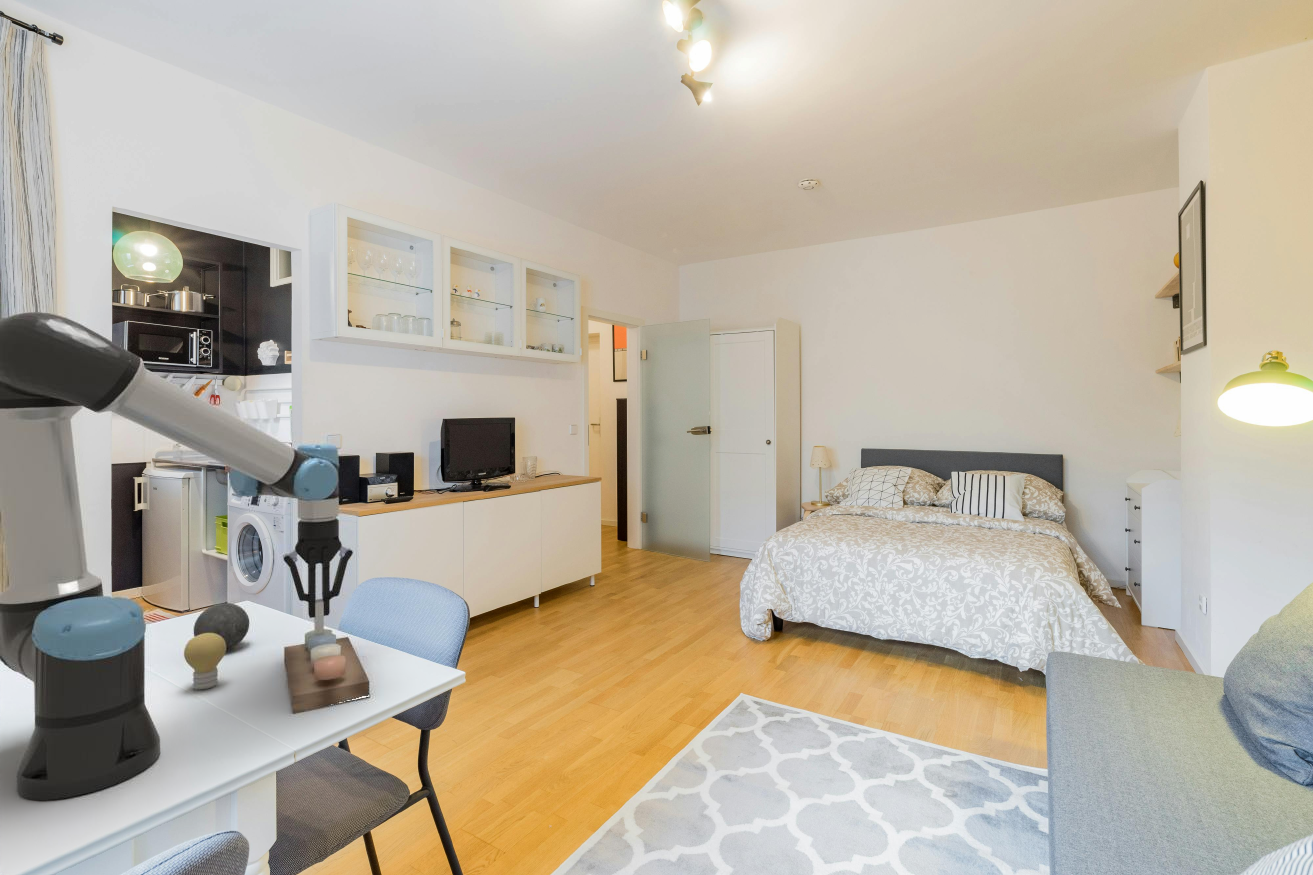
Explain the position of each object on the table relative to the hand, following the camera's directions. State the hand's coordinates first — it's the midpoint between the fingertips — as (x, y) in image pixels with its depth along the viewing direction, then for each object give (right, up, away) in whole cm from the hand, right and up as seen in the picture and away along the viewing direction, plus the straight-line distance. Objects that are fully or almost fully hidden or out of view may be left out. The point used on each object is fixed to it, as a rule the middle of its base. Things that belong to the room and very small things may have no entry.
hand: (319, 631), depth 131 cm
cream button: (+8, -2, -12) cm, 14 cm away
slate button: (+4, -2, -6) cm, 7 cm away
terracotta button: (+11, -2, -18) cm, 21 cm away
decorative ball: (-24, -6, +6) cm, 26 cm away
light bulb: (-14, -6, -13) cm, 20 cm away
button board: (+6, -6, -9) cm, 12 cm away
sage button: (0, -3, 0) cm, 3 cm away
